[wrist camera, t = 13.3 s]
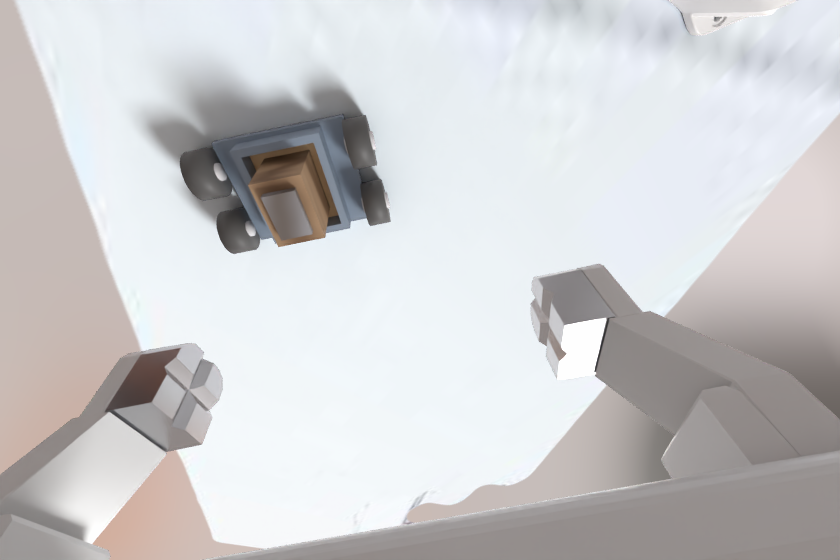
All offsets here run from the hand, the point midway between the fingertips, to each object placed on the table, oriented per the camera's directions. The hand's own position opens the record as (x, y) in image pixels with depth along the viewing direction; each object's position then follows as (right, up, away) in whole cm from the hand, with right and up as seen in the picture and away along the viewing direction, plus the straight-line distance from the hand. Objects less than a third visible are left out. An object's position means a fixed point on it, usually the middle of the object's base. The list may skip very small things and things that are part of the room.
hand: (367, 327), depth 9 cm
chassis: (-13, +13, +33) cm, 38 cm away
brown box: (-13, +12, +32) cm, 37 cm away
